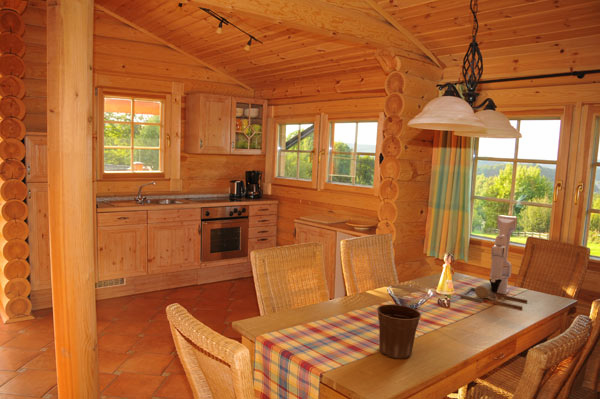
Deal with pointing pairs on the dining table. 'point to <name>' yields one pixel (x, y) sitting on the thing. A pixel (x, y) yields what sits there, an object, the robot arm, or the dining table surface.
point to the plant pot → (397, 330)
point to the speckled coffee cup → (485, 291)
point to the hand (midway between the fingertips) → (494, 292)
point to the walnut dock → (508, 303)
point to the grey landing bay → (469, 296)
